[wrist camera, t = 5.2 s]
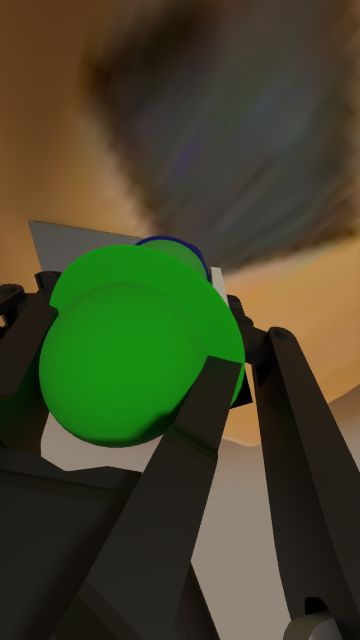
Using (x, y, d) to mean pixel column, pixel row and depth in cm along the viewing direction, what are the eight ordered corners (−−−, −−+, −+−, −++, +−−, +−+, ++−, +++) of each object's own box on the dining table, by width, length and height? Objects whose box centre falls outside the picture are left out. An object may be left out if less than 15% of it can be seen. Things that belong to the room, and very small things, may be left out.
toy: (165, 321, 21) (111, 501, 9) (107, 257, 18) (-113, 404, 5) (237, 278, 18) (319, 480, 5) (183, 188, 14) (44, 153, 2)
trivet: (34, 220, 30) (28, 221, 29) (145, 238, 30) (143, 239, 29) (59, 315, 40) (55, 318, 39) (142, 329, 39) (141, 333, 38)
